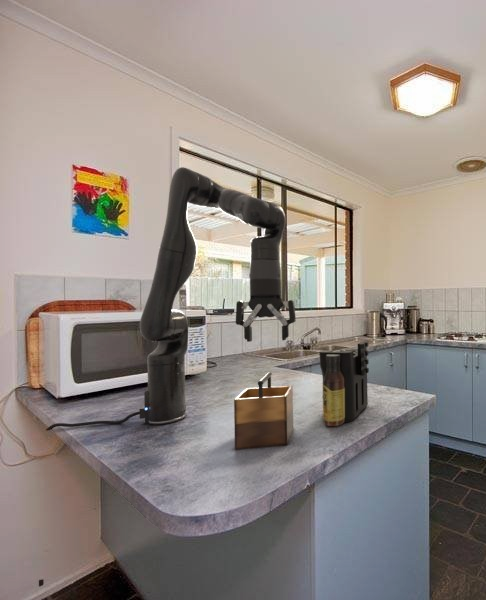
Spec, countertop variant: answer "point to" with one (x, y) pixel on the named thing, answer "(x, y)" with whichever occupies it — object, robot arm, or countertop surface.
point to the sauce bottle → (333, 392)
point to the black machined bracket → (352, 377)
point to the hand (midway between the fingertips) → (266, 340)
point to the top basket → (263, 403)
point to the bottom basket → (263, 433)
